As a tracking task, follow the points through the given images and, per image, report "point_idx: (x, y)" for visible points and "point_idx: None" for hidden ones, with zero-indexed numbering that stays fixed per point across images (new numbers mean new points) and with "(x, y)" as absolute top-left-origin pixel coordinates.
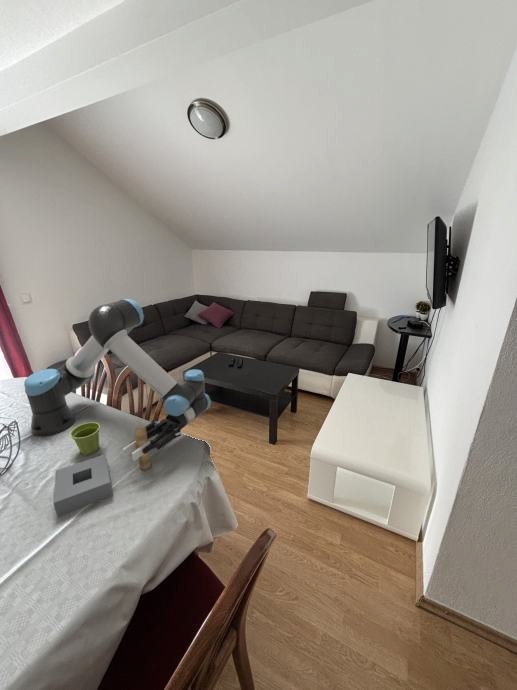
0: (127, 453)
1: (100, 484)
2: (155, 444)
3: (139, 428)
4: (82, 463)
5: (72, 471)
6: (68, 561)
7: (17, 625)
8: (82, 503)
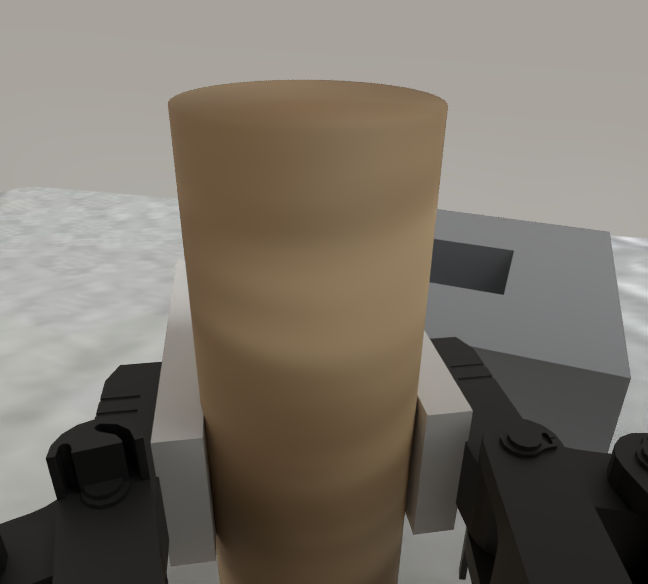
0: None
1: None
2: (11, 528)
3: (369, 102)
4: (595, 287)
5: (540, 253)
6: (123, 253)
7: (99, 199)
8: None
